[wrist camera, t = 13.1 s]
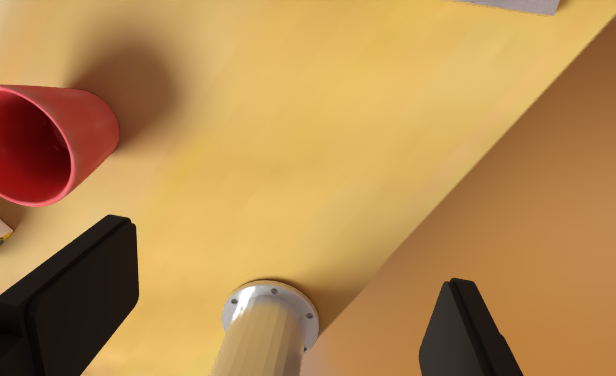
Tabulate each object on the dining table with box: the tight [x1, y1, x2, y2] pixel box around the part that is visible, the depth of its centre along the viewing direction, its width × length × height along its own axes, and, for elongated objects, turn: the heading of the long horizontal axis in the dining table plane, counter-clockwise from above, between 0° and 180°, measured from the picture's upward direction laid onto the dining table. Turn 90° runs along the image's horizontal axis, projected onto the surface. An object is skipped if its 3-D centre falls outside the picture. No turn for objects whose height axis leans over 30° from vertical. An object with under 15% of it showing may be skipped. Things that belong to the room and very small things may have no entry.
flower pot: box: [0, 85, 120, 207], centre depth 36 cm, size 11×11×10 cm
